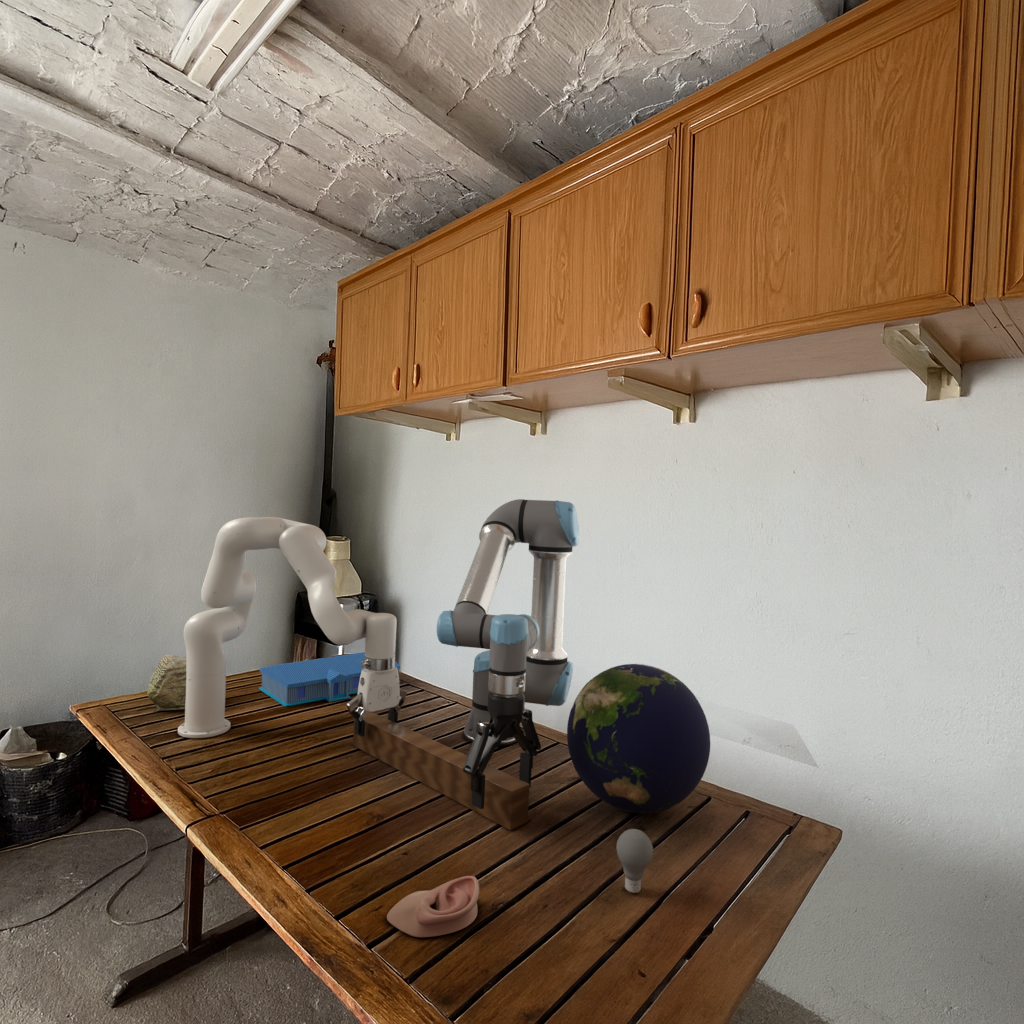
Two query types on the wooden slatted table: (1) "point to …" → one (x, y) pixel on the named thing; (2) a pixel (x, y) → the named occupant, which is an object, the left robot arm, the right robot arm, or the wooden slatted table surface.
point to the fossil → (169, 683)
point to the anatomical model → (437, 909)
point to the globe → (638, 738)
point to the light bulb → (634, 857)
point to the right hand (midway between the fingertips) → (502, 795)
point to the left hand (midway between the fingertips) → (376, 730)
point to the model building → (313, 679)
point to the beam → (444, 770)
